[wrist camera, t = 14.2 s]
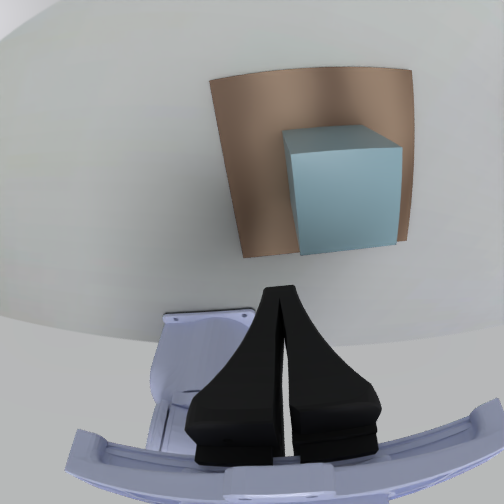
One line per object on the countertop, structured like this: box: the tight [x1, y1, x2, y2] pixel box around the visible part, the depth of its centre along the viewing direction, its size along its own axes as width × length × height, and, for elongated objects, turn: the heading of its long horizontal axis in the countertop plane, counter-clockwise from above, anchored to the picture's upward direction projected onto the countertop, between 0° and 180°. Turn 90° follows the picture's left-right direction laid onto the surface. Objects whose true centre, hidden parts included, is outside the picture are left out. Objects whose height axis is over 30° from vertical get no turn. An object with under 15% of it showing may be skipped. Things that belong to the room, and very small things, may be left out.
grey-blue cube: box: [282, 125, 402, 256], centre depth 17 cm, size 6×6×7 cm
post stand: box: [209, 67, 414, 258], centre depth 17 cm, size 14×14×6 cm
